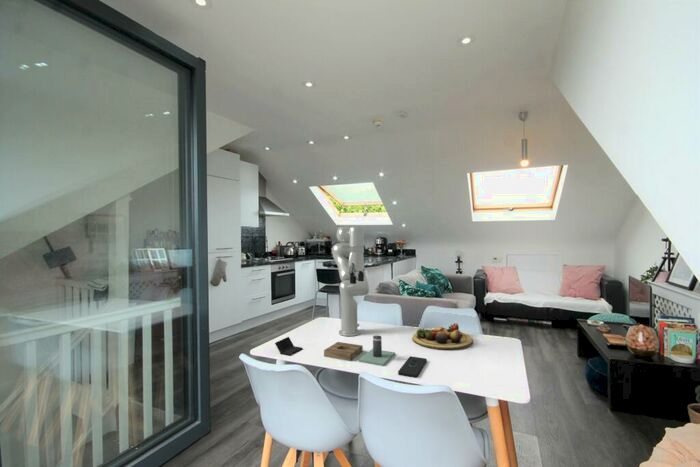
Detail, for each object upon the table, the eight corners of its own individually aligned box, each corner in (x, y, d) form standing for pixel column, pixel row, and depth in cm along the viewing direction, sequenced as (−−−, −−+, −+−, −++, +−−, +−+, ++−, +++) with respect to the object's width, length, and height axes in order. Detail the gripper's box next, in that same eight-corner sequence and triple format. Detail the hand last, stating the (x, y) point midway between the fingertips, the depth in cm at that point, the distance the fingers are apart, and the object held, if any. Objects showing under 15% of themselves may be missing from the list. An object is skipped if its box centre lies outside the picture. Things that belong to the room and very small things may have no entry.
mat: (372, 350, 165) (372, 348, 165) (395, 354, 160) (395, 352, 160) (358, 361, 151) (358, 359, 151) (383, 366, 146) (383, 363, 146)
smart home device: (427, 358, 151) (417, 375, 133) (427, 362, 151) (417, 379, 133) (409, 355, 155) (397, 371, 136) (409, 359, 155) (397, 375, 136)
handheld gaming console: (293, 353, 159) (283, 335, 162) (282, 361, 160) (272, 343, 163) (304, 348, 170) (294, 332, 173) (294, 356, 171) (284, 340, 174)
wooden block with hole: (338, 347, 171) (338, 341, 171) (362, 351, 165) (362, 345, 165) (324, 356, 158) (324, 350, 158) (350, 361, 152) (350, 354, 152)
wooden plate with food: (444, 330, 202) (444, 316, 202) (486, 344, 173) (485, 328, 173) (401, 338, 188) (400, 324, 188) (438, 355, 159) (438, 338, 159)
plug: (375, 353, 158) (374, 335, 158) (383, 355, 156) (382, 336, 157) (371, 356, 155) (371, 337, 155) (379, 357, 153) (379, 338, 153)
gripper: (357, 249, 184) (357, 280, 183) (342, 250, 168) (343, 284, 168) (369, 249, 180) (370, 280, 180) (356, 250, 165) (356, 285, 165)
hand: (357, 282), depth 174 cm, fingers open, 9 cm apart
